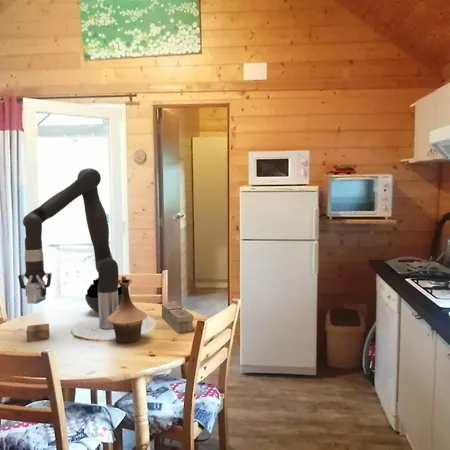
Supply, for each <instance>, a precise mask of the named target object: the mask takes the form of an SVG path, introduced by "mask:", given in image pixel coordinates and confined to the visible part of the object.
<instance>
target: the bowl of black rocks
mask: <svg viewBox="0 0 450 450" xmlns="http://www.w3.org/2000/svg"><path fill="white" fill-rule="evenodd" d="M98 284H99V277H98V278H96V279H93V280H92V283H91V284H89V286H88V288H87V291H86V293H87V294H85V296H84V298H85V301H86V305H88V307H89V308H90V309H92V311H94V312H96V313H98V314H99V304H98ZM121 299H122V287H121V286H120V285H119V286H118V305H120V303H121Z"/></svg>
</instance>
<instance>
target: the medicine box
mask: <svg viewBox="0 0 450 450" xmlns="http://www.w3.org/2000/svg"><path fill="white" fill-rule="evenodd" d="M40 282H41V281H40ZM44 283H45V284H46V282H45V280H44ZM25 285H26V290H25V293H26V292H27V297H26V303H27V304H30V305H31V304H33V305H36V304H37V305H38V304H39V303H41V302H43V301H45V300H46V296H45V297H42V286H41V285H40V283H39V282H33V283H30V284H27V283H26V284H25Z"/></svg>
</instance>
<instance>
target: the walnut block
mask: <svg viewBox="0 0 450 450" xmlns="http://www.w3.org/2000/svg"><path fill="white" fill-rule="evenodd" d="M25 334H26V343H31V342H33V341H34V342H42V341H48V340H50V323H41V324H32V325H31V324H30V325H27V328H26V332H25Z"/></svg>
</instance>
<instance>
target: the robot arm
mask: <svg viewBox="0 0 450 450" xmlns="http://www.w3.org/2000/svg"><path fill="white" fill-rule="evenodd" d="M101 180H102V176H101V174H100V171H98V170H97V169H94V168H84V169H82V170H80V171H79V172H78V174H77V178H76V180H75V181H73V182H72V183H71V184H70V185H68V186H67V187H66V188H64V189H62V190H60V191H59V192H57V193H55V194H53V196H51V197H50V198H48V199H47V200H46V201H45V202H43V203H42V204H41V205H40V206H38V207H36V208H35V209H34V210H31V211H30V212H28V213H27V214H26V215H25V216H24V217H23V219H22V225H23V227H24V229H25V237H24V265H25V268H24V269H25V273H23V274H22V273H21V274H19V275H17V278H18V282H19V286H20V288H21V289H24V291H25V296H26V298H27V292H26V285H27V284H30V283H33V282H39V283H40V285H41V286H42V297H45V298H46V296H47V288H49V287H50V286H51V282H52V276H53V275H52V272H45V267H44V266H45V264H44V263H45V262H44V252H43V251H44V250H43V240H42V234H43V223H44V222H46V221H47V220H48V219H50V218H53V217H54V216H56V215H57V214H58V213H60V212H61V211H62V210H63V209H64V208H66V207H67V206H68V205H69V204H71V203H72V202H73V201H75V200H76V199H77V198H78V197H80V196H82V201H83V205H84V214H85V219H86V225H87V229H88V232H89V237H90V240H91V243H92V247H93V252H94V263H95V270H96V272H97V274H98V278H99V284H98V304H99V313H98V321H99V322H98V323H99V328H100V329H102V328H104V329H105V330H110V329H114V327H113V324H112V322H110V321H108V319H107V318H108V317H109V316H110V315H111V314H113V313H114V312H115V311H116V310H117V308H118V307H119V305H118V287H119V283H118V281H117V280H120V279H119V265H118V263H117V261H116V260H115V259H114V258H113V256H112V251H111V249H110V241H109V240H110V230H109V229H110V228H109V222H108V217H107V214H106V210H105V208H104V207H103V204H102V202H101V199H100V195H99V189H98V186H99V184H101ZM45 277H46V279H47V280H46V282H45V283H44V281H45V280H44V278H45ZM25 278H26V279H27V283H26V284H25V282H24V279H25ZM40 281H41V282H40ZM104 329H103V330H104Z"/></svg>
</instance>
